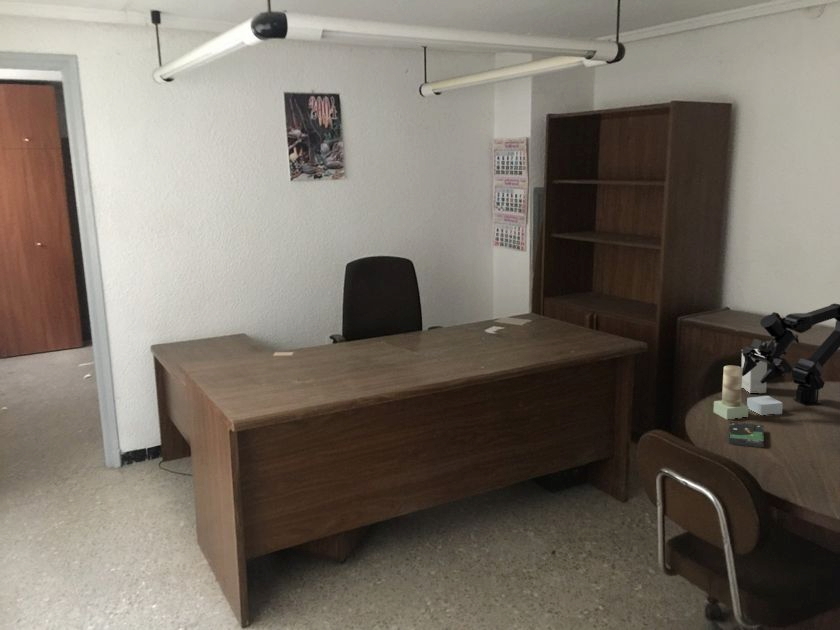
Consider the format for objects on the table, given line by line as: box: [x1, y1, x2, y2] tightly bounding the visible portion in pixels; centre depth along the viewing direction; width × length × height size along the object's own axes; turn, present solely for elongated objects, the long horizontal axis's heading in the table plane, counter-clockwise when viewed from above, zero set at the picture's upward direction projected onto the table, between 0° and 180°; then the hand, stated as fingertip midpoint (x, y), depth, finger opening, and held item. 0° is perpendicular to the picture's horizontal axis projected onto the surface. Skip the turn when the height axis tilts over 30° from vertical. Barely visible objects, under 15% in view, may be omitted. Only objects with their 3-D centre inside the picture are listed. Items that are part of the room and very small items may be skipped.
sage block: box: [712, 399, 749, 420], centre depth 246 cm, size 8×8×4 cm
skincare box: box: [741, 348, 768, 394], centre depth 269 cm, size 8×7×16 cm
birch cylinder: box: [721, 364, 743, 407], centre depth 245 cm, size 6×6×13 cm
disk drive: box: [727, 421, 765, 448], centre depth 227 cm, size 10×3×15 cm
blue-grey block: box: [746, 395, 784, 416], centre depth 249 cm, size 8×8×4 cm
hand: (751, 379), depth 247 cm, fingers open, 9 cm apart
